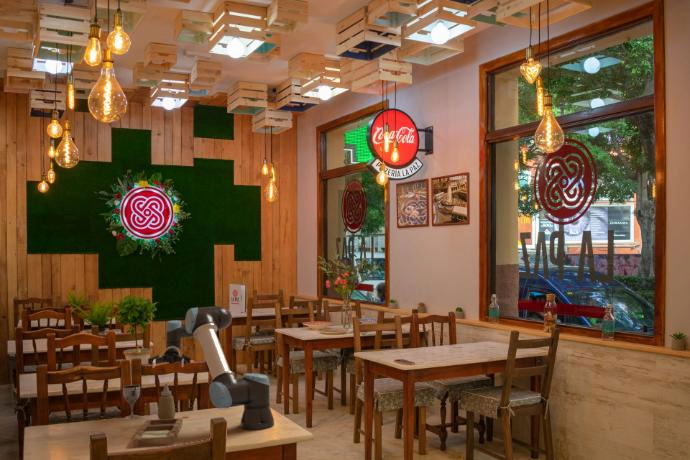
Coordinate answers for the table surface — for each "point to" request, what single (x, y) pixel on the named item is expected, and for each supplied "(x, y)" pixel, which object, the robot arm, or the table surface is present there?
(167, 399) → the squeeze bottle
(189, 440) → the table surface
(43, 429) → the table surface
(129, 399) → the wine glass
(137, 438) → the board
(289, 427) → the table surface
